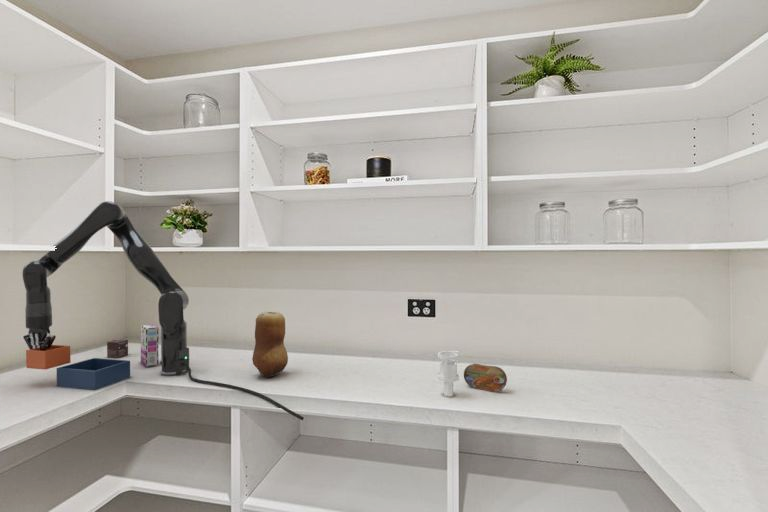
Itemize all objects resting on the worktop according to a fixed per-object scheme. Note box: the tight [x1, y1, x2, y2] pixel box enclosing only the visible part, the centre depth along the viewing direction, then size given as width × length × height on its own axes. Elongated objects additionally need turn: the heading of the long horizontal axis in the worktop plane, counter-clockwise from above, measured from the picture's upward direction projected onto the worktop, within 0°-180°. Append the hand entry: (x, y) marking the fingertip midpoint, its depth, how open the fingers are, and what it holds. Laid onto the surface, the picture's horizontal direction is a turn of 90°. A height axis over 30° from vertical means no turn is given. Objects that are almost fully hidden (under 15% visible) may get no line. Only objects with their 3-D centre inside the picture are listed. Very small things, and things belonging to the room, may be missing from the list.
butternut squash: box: [252, 311, 289, 379], centre depth 158 cm, size 14×13×25 cm
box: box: [106, 338, 129, 359], centre depth 188 cm, size 6×6×7 cm
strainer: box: [437, 350, 460, 397], centre depth 136 cm, size 7×7×15 cm
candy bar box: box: [140, 324, 159, 368], centre depth 175 cm, size 11×5×16 cm, turn 42°
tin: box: [463, 363, 508, 393], centre depth 141 cm, size 15×3×8 cm, turn 56°
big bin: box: [56, 357, 131, 391], centre depth 151 cm, size 18×15×7 cm
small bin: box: [25, 344, 72, 370], centre depth 149 cm, size 9×9×6 cm
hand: (40, 360), depth 150 cm, fingers closed on small bin, 1 cm apart
